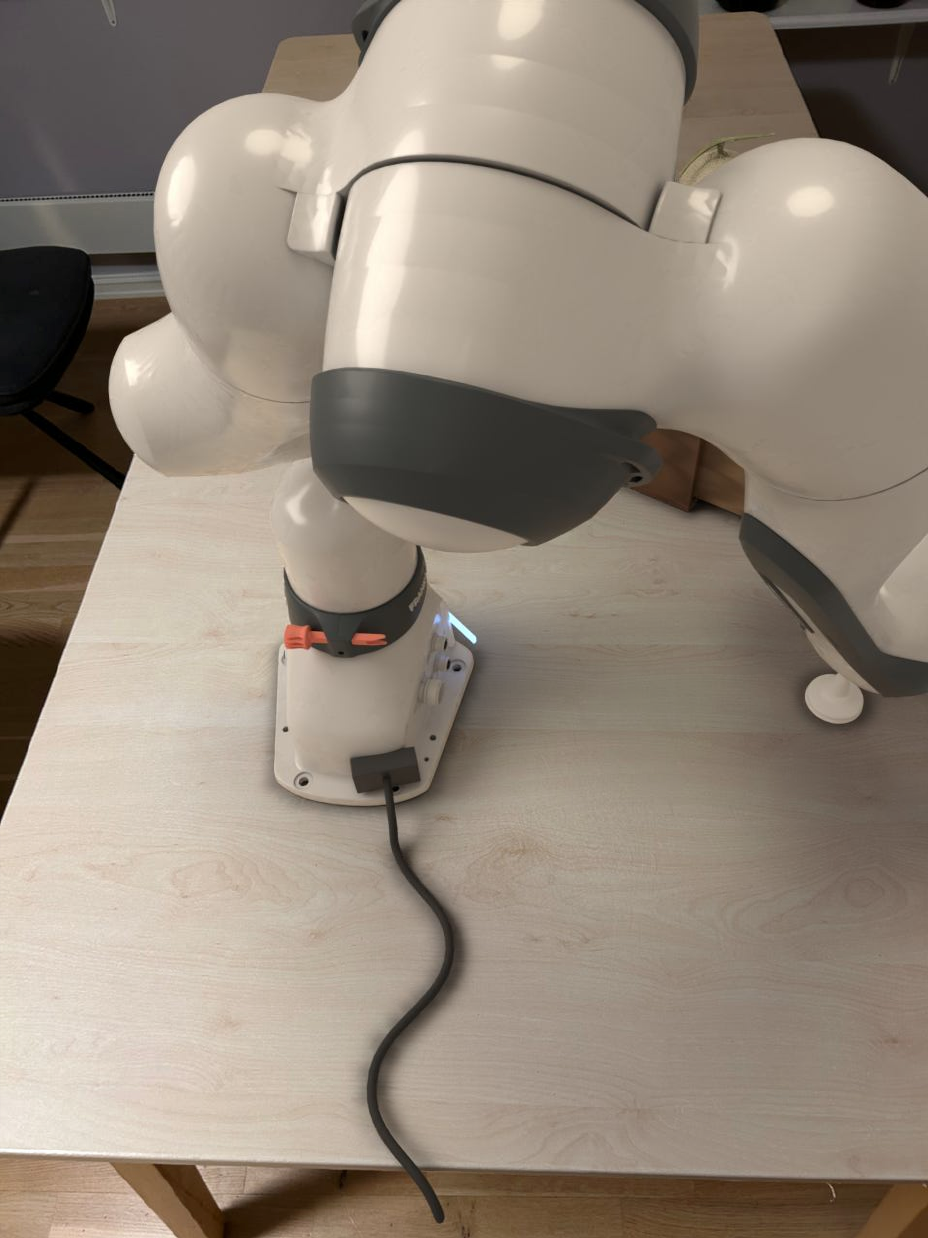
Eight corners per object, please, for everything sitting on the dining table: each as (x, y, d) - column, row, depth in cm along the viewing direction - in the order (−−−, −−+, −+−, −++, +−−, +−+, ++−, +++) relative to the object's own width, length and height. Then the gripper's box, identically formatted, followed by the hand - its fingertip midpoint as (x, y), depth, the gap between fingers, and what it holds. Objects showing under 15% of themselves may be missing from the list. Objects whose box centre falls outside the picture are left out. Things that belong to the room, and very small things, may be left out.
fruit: (652, 229, 133) (663, 120, 121) (723, 209, 135) (741, 101, 123) (688, 265, 127) (703, 154, 115) (762, 244, 129) (785, 133, 117)
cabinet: (741, 444, 105) (758, 366, 96) (687, 512, 99) (701, 435, 90) (626, 400, 110) (633, 323, 102) (570, 462, 105) (572, 386, 96)
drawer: (875, 492, 97) (900, 427, 90) (831, 561, 92) (854, 497, 85) (710, 430, 105) (722, 365, 98) (661, 490, 100) (670, 426, 93)
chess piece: (820, 668, 85) (848, 599, 78) (872, 696, 83) (906, 628, 75) (794, 704, 83) (820, 637, 75) (846, 733, 81) (879, 667, 73)
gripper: (1044, 456, 62) (1028, 477, 75) (757, 359, 71) (785, 392, 83) (997, 543, 64) (989, 550, 76) (721, 438, 72) (754, 459, 84)
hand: (881, 467), depth 79 cm, fingers open, 8 cm apart
